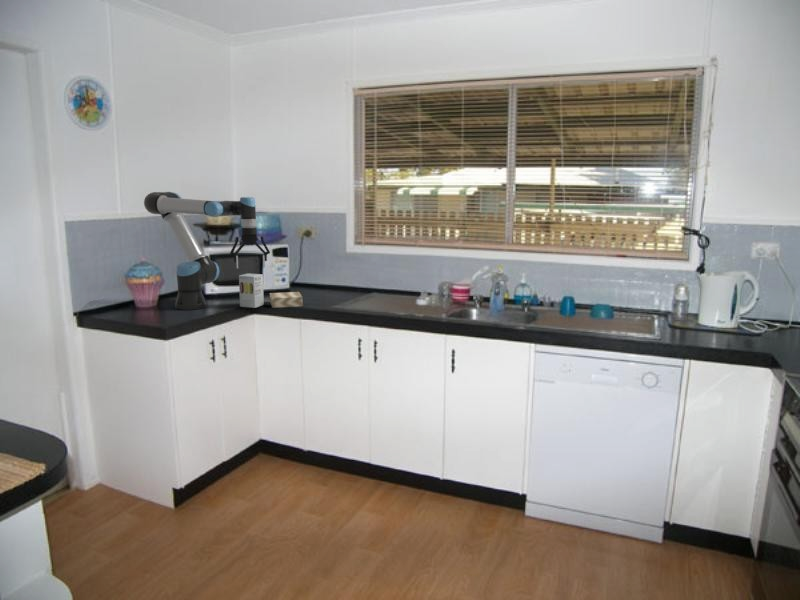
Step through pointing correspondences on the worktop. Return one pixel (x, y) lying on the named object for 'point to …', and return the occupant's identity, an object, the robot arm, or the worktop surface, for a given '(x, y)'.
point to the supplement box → (251, 290)
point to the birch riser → (286, 299)
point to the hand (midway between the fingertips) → (250, 267)
